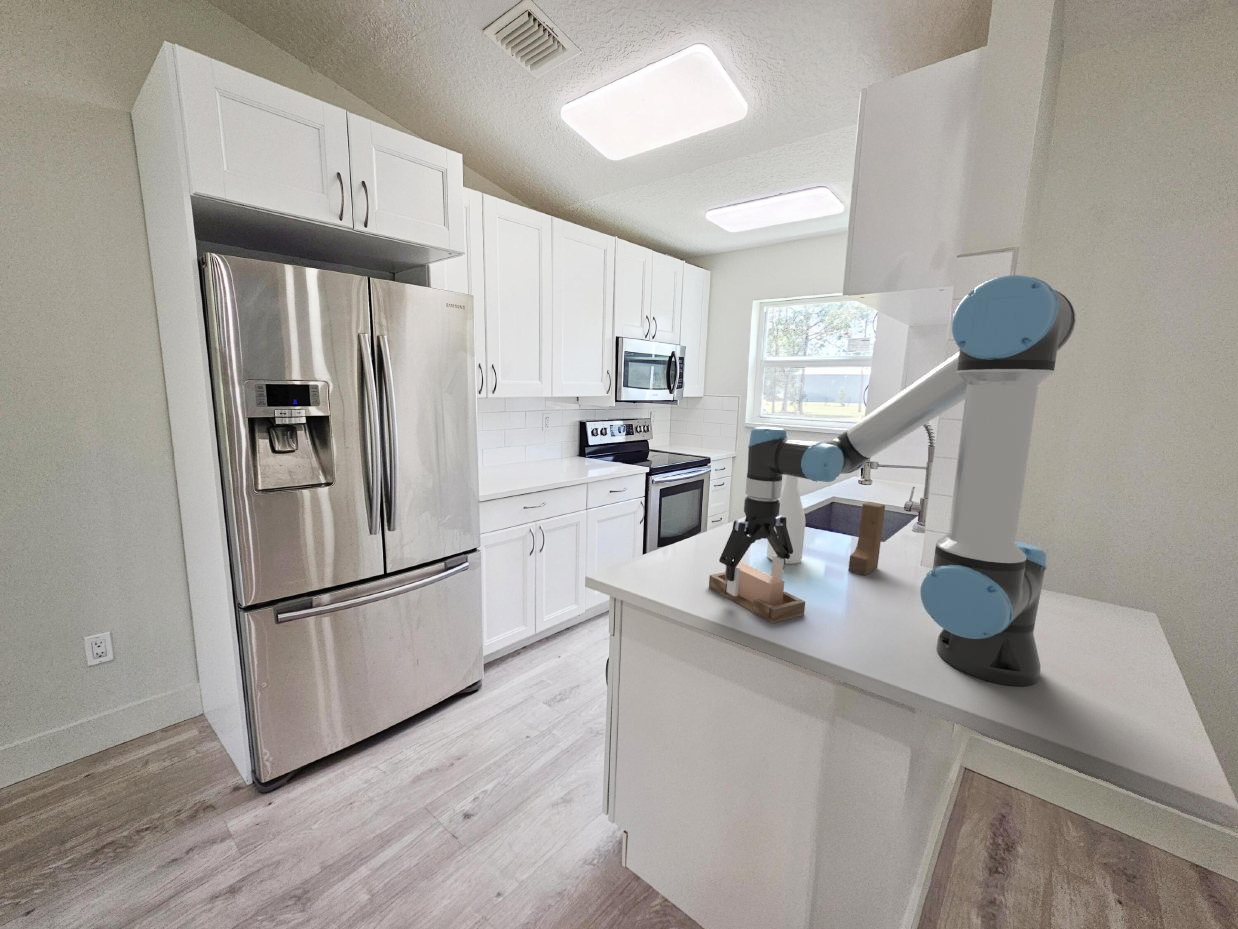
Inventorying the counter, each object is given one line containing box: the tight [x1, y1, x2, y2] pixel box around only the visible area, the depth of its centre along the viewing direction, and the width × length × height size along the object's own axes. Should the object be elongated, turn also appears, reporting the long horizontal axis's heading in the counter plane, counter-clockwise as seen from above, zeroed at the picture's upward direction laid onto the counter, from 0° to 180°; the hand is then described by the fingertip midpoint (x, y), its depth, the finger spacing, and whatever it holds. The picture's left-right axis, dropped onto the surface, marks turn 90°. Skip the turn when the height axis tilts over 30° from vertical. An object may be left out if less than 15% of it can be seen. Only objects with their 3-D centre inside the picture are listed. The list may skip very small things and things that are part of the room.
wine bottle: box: [766, 475, 807, 565], centre depth 140 cm, size 10×10×30 cm
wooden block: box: [848, 501, 886, 576], centre depth 135 cm, size 9×4×18 cm, turn 133°
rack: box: [708, 571, 806, 624], centre depth 114 cm, size 20×9×3 cm, turn 29°
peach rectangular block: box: [724, 561, 785, 606], centre depth 114 cm, size 14×4×6 cm, turn 31°
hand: (754, 588), depth 114 cm, fingers open, 13 cm apart
